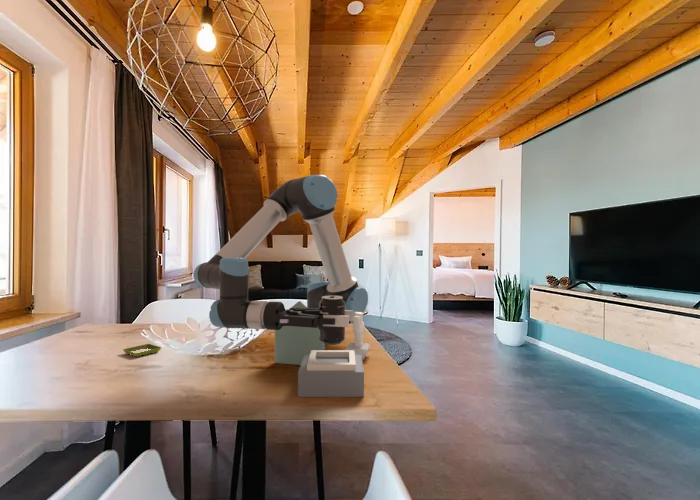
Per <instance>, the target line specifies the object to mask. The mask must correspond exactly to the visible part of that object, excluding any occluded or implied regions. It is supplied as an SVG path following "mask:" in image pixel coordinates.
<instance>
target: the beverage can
mask: <svg viewBox="0 0 700 500" xmlns="http://www.w3.org/2000/svg"><path fill="white" fill-rule="evenodd" d="M319 315H321V316H322V318H323V315H343V316H345V302H344V301H343V297H342V296H323V297H322V300H321V301H320V303H319ZM345 339H346V327H333V326H323V324H322V329H319V340H320V341H321V342H322V343H324V344H325V345H327V346H335V345H336V346H337V345H340V344H341V343H343V342H344V341H345Z"/></svg>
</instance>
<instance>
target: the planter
mask: <svg viewBox="0 0 700 500" xmlns="http://www.w3.org/2000/svg"><path fill="white" fill-rule="evenodd" d="M290 308H307V305H305V304H304V303H303V302H302V301H297V302H296V303H295V304H294V305H292V306H291V307H290ZM325 345H326V344H324V343H322V342H321V341H320V340H319V329H318V327H317V328H311V327H296V326H283V327H282V328H281V329H280V330H274V363H275V364H282V365H283V364H285V365H295V366H296V365H298V366H301V363H302V360H303V358H304V355H305V354H310V353H311V350H326V347H325Z"/></svg>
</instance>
